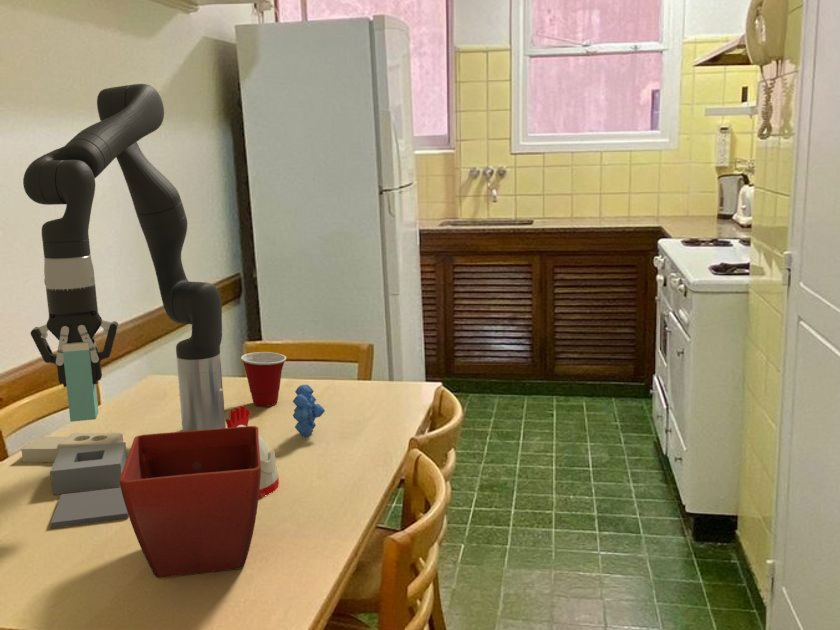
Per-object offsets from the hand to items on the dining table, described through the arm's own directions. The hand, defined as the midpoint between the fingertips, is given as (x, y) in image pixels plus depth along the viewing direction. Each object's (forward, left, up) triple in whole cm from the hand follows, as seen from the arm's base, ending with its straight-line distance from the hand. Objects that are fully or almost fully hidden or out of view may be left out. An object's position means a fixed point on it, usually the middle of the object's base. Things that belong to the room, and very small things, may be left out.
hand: (81, 383), depth 139 cm
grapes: (-41, -25, -23) cm, 53 cm away
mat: (0, 0, -23) cm, 23 cm away
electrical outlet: (+7, -30, -23) cm, 38 cm away
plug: (0, 0, -6) cm, 6 cm away
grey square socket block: (+2, -15, -23) cm, 27 cm away
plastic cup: (-34, -53, -23) cm, 67 cm away
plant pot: (-18, +23, -23) cm, 37 cm away
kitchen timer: (-25, -2, -23) cm, 34 cm away
